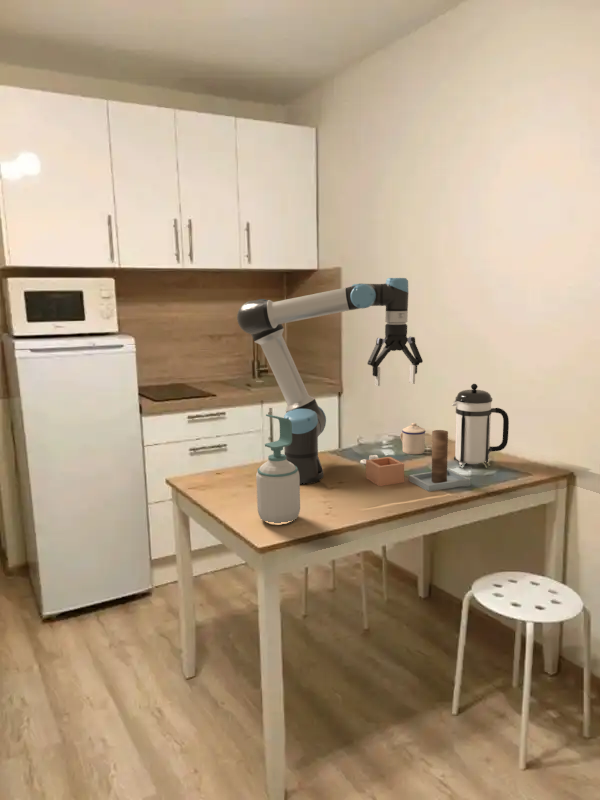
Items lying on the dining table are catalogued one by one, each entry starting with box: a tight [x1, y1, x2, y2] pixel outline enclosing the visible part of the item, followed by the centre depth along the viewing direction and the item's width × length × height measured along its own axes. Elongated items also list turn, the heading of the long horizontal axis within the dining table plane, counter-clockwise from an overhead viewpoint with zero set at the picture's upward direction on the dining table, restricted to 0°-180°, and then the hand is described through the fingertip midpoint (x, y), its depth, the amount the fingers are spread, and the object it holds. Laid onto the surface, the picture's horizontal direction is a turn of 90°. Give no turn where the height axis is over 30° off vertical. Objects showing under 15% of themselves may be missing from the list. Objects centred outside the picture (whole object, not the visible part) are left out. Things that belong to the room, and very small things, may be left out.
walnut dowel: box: [431, 429, 449, 483], centre depth 201 cm, size 5×5×17 cm
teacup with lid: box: [400, 422, 426, 455], centre depth 243 cm, size 12×9×12 cm
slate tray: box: [408, 468, 471, 493], centre depth 203 cm, size 16×12×2 cm
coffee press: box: [451, 383, 510, 466], centre depth 222 cm, size 17×16×30 cm
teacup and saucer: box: [359, 454, 379, 465], centre depth 226 cm, size 9×8×4 cm
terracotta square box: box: [365, 456, 405, 487], centre depth 207 cm, size 9×9×7 cm
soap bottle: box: [255, 414, 301, 523], centre depth 173 cm, size 12×12×31 cm
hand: (394, 384), depth 214 cm, fingers open, 13 cm apart
